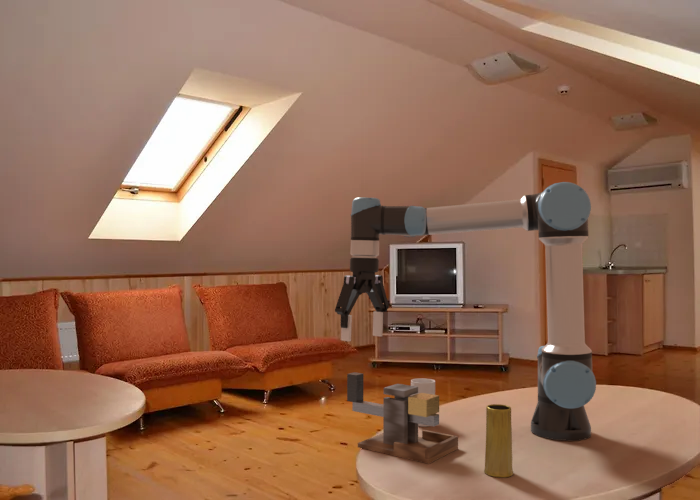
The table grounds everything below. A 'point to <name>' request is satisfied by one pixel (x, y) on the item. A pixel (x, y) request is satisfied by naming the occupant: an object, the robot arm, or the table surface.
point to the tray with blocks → (407, 431)
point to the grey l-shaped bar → (374, 408)
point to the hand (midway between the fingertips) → (362, 338)
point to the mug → (424, 388)
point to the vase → (498, 441)
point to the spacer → (423, 404)
